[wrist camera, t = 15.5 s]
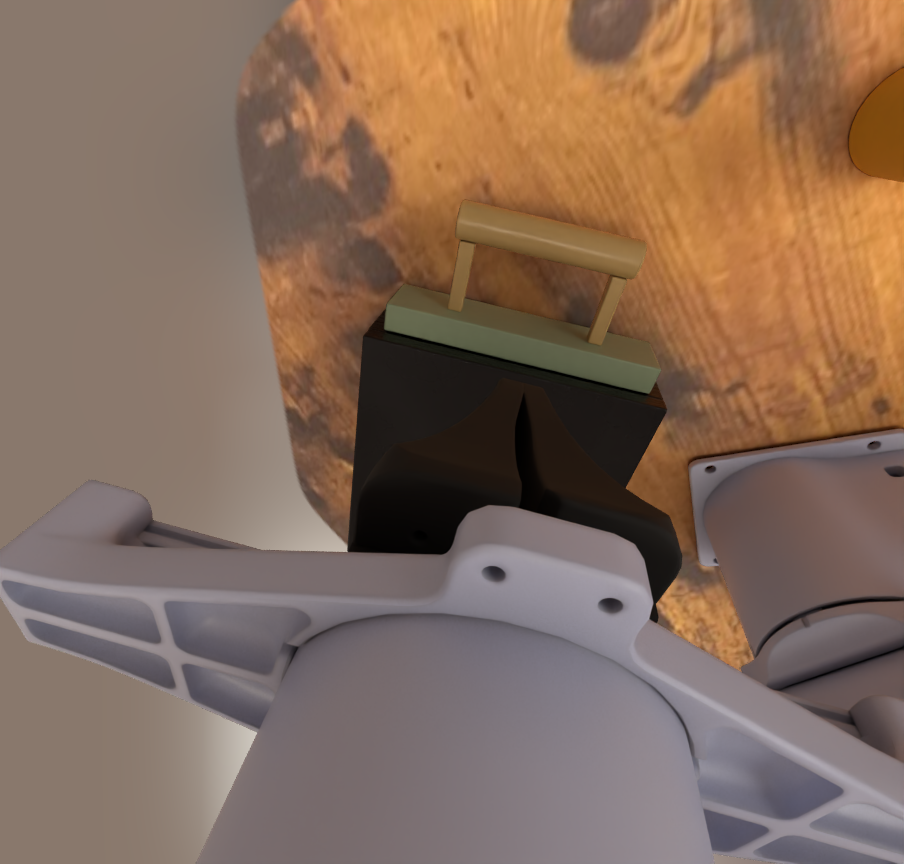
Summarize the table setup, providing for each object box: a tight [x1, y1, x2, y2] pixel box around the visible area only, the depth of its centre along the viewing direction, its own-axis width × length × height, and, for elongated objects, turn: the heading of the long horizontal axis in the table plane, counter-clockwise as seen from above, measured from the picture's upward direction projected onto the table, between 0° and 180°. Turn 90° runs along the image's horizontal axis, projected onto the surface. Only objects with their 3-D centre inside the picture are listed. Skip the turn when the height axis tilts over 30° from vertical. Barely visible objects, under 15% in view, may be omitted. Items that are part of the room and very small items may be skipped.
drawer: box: [384, 199, 661, 394], centre depth 22 cm, size 17×11×3 cm
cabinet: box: [347, 309, 667, 551], centre depth 25 cm, size 14×13×5 cm
